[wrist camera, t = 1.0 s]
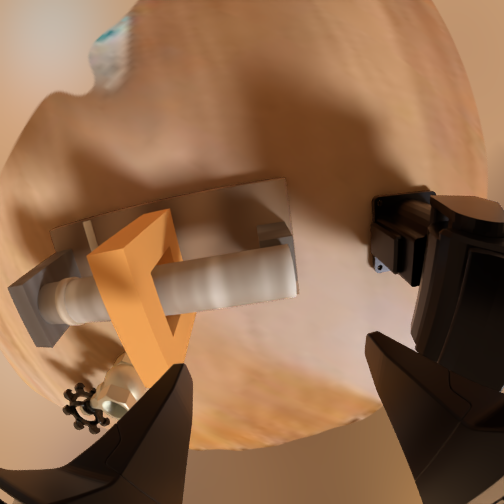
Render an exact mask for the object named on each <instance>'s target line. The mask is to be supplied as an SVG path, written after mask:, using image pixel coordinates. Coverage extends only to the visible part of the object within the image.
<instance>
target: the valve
mask: <svg viewBox="0 0 504 504" xmlns="http://www.w3.org/2000/svg"><path fill="white" fill-rule="evenodd" d="M84 387H85V386H84V385H83V384H82V383H78V384H77V385H75V391H76V393H75V394H73V393H72V392H71V391H72V390H70V389H67V390H66V391H65V392H64V397H65V398H66V399H68V400H69V401H70V406H68V405H66V406H64V407H63V412H64V413H65V414H66V415H70V414H72V415H73V416H74V417H75V419H76V421H75V422H74V427H75V428H76V429H77V430H81V429H83V428H84V426H83V425H86V426H88V427H89V431H90V432H91V433H92V434H97V433H99V432H100V428H97V424H98V423H100V424H101V425H102V426H107V425H109V424H110V420H109V419H108V418H104V417H103V412H104V413H106V414H107V415H109V416H110V417H112V418H114V419H117V420H120V419H121V417H122V416H123V415H124V414H125V413H126V412H127V411H128V410H129V409H130V408H131V407H132V406H133V405H134V404H135V403H136V402H137V401H138V400H139V399H140V398H141V397H142V396H143V395H144V394H145V391H146V388H145V386H144V384H143V382H142V381H141V379H140V377H139V375H138V373H137V372H136V370H135V368H134V366H133V364H132V362H131V360H130V358H129V357H128V355H127V353H126V352H125V353H123V354H122V355H121V356H119V357H118V358H117V360H116V362H115V364H114V366H113V367H112V368H111V369H110V370H109V371H108V372H107V374H106V376H105V380H104V382H102V383H101V384H100V385H98V387H97V389H95V388H93V389H92V390H90V391H89V393H88V392H84V389H83V388H84ZM78 397H86V398H87V399H85V400H84V401H76V399H77V398H78ZM77 406H80V410H81V411H82V413H83V414H85V415H93V414H94V416H95V418H96V419H95V420H94V421H87V420H85V419H83V418H82V417H81V416H80V415H79V414H78V412H77V410H76V407H77Z"/></svg>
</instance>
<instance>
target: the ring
mask: <svg viewBox="0 0 504 504" xmlns="http://www.w3.org/2000/svg"><path fill="white" fill-rule="evenodd" d="M86 257H87V260H88V263H89V266H90V268H91V271H92V274H93V277H94V280H95V282H96V285H97V287H98V290H99V293H100V295H101V298H102V300H103V302H104V305H105V307H106V310H107V312H108V314H109V317H110V319H111V321H112V323H113V326H114V328H115V330H116V332H117V334H118V336H119V338H120V341H121V343H122V345H123V347H124V349H125V351H126V353H127V355H128V357H129V358H130V360H131V362H132V364H133V366H134V368H135V370H136V372H137V373H138V375H139V377H140V379H141V381H142V382H143V384H144V386H145V388H151V387H152V386H153V385H154V384H155V383H156V382H157V381H158V380H159V379H160V378H161V376H162V375H163V374H164V373H165V372H166V371H167V370H168V369H169V368H170V367H171V366H172V365H173V364H177V363H184V360H185V356H186V351H187V347H188V343H189V339H190V335H191V331H192V327H193V323H194V319H195V316H196V312H193V313H185V314H177V315H168V316H165V314H164V311H163V308H162V306H161V303H160V300H159V297H158V294H157V291H156V288H155V285H154V282H153V279H152V276H151V271H152V270H153V268H154V267H155V266H156V265H162V264H168V263H174V262H180V261H183V259H182V256H181V252H180V248H179V244H178V240H177V236H176V232H175V228H174V224H173V219H172V215H171V211H170V208H169V209H164V210H160V211H155V212H151V213H146V214H143V215H141V216H140V217H138V218H137V219H136V220H134V221H133V222H131V223H130V224H129V225H127V226H126V227H124V228H123V229H121V230H120V231H119V232H117V233H116V234H115V235H113V236H112V237H111V238H109V239H108V240H106V241H105V242H104V243H102V244H101V245H100V246H99V247H97V248H96V249H95V250H93V251H92V252H91V253H89V254H88V255H87V256H86Z"/></svg>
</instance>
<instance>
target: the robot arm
mask: <svg viewBox="0 0 504 504" xmlns="http://www.w3.org/2000/svg"><path fill="white" fill-rule="evenodd" d="M378 200H380V204H379V205H377V201H378ZM372 214H373V222H372V224H371V253H372V254H373V269H374V270H375V271H376V272H377V273H381V272H386V271H392V272H393V273H394V274H399V275H400V276H401V277H402V278H403V279H405V280H406V281H407V282H408V283H409V284H410V285H411V286H412V287H415V286H419V291H418V296H417V301H416V305H415V310H414V314H413V318H412V322H411V335H412V337H413V340H414V342H415V344H416V346H415V349H416V351H417V352H418V353H417V352H415V351H414V350H412V349H410V348H408V347H406V346H404V345H403V344H401V343H399V342H397V341H395V340H393V339H391V338H390V337H388V336H386V335H384V334H382V333H380V332H378V331H375V332H372V333H368V334H367V336H366V344H365V356H366V359H367V362H368V365H369V368H370V372H371V375H372V378H373V381H374V384H375V387H376V390H377V392H378V395H379V397H380V399H381V401H382V403H383V406H384V408H385V410H386V412H387V415H388V417H389V419H390V421H391V424H392V426H393V428H394V431H395V433H396V435H397V438H398V440H399V442H400V445H401V447H402V450H403V452H404V454H405V457H406V459H407V462H408V464H409V467H410V469H411V472H412V474H413V477H414V480H416V481H415V483H416V485H417V488H418V490H419V494H420V496H421V499H422V502H423V504H504V393H501V391H502V390H503V388H504V210H503V208H502V207H501V205H500V204H499V203H498V202H494V201H491V200H487V199H483V198H479V197H475V196H443V195H436V193H435V192H433V191H419V192H409V193H399V194H390V195H381V196H375V197H374V198H373V200H372ZM379 265H381V266H380V268H378V266H379ZM192 410H193V381H192V378H191V375H190V373H189V371H188V368H187V366H186V365H185V364H184V363H177V364H173V365H172V366H171V367H170V368H169V369H168V370H167V371H166V372H165V373H164V374H163V375H162V376H161V378H160V379H159V380H158V381H157V382H156V383H155V384H154V385H153V386H152V387H151V388H150V389H149V390H148V391H147V392H146V393H145V394H144V395H143V396H142V397H141V398H140V399H139V400H138V401H137V402H136V403H135V404H134V405H133V406H132V407H131V408H130V409H129V410H128V411H127V412H126V413H125V414H124V415H123V416H122V417H121V419H120V420H119V421H118V422H117V424H114V425H113V426H112V427H111V428H110V429H109V430H108V431H107V432H106V433H105V434H104V435H103V436H102V437H101V438H100V439H99V440H98V441H96V442H95V443H94V444H93V445H92V446H90V447H89V448H88V449H86V450H85V451H84V452H83V453H81V454H80V455H79V456H78V457H76V458H75V459H74V460H72V461H71V462H70V463H68V464H67V465H65V466H62V467H60V468H55V469H44V470H6V469H2V468H0V489H2V490H3V491H4V492H6V493H7V494H9V495H10V496H11V497H13V498H14V501H13V504H182V501H183V492H184V483H185V474H186V465H187V457H188V449H189V441H190V434H191V426H192ZM0 504H7V503H5V502H4V501H2V500H1V499H0Z"/></svg>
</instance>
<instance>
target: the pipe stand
mask: <svg viewBox="0 0 504 504" xmlns="http://www.w3.org/2000/svg"><path fill="white" fill-rule="evenodd" d="M169 208H170V211H171V215H172V219H173V224H174V228H175V232H176V236H177V240H178V244H179V248H180V252H181V256H182V259H183V261H180V262H174V263H168V264H162V265H156V266H155V267H154V268H153V270H152V271H151V276H152V279H153V282H154V285H155V288H156V291H157V294H158V297H159V300H160V303H161V306H162V308H163V311H164V314H165V316H168V315H177V314H185V313H193V312H201V311H209V310H217V309H224V308H231V307H238V306H245V305H251V304H258V303H264V302H270V301H276V300H282V299H288V298H294V297H296V294H299V286H298V276H297V266H296V257H295V248H294V240H293V231H292V223H291V215H290V207H289V200H288V192H287V185H286V178H284V177H281V178H274V179H268V180H261V181H255V182H249V183H243V184H237V185H231V186H225V187H220V188H214V189H209V190H204V191H199V192H194V193H189V194H184V195H179V196H175V197H170V198H166V199H161V200H157V201H152V202H148V203H144V204H140V205H136V206H131V207H127V208H123V209H120V210H116V211H112V212H108V213H104V214H101V215H97V216H93V217H90V218H86V219H83V220H79V221H76V222H73V223H69V224H66V225H63V226H60V227H56V228H54V229H52V230H50V235H51V238H52V241H53V244H54V248H55V251H56V253H54V254H53V255H52V256H50V257H49V258H47V259H46V260H44V261H43V262H41V263H40V264H39V265H37V266H36V267H34V268H33V269H32V270H30V271H29V272H28V273H26V274H25V275H23V276H22V277H21V278H19V279H18V280H17V281H16V282H14V283H13V284H12V285H10V286H9V287H8V290H9V293H10V295H11V297H12V299H13V302H14V304H15V306H16V308H17V310H18V313H19V315H20V317H21V319H22V321H23V323H24V325H25V327H26V329H27V330H28V332H29V334H30V336H31V338H32V340H33V342H34V343H35V345H36V347H52V348H53V346H54V345H55V344H56V342H57V341H58V340H59V339H60V337H61V336H62V335H63V334H64V332H65V331H66V330H67V329H68V327H69V326H70V325H71V326H74V325H83V324H85V323H88V322H102V321H111V319H110V317H109V314H108V312H107V310H106V307H105V305H104V302H103V300H102V298H101V295H100V293H99V290H98V287H97V285H96V282H95V280H94V277H93V274H92V271H91V268H90V266H89V263H88V260H87V257H86V256H87V255H88V254H89V253H91V252H92V251H93V250H95V249H96V248H97V247H99V246H100V245H101V244H102V243H104V242H105V241H106V240H108V239H109V238H111V237H112V236H113V235H115V234H116V233H117V232H119V231H120V230H121V229H123V228H124V227H126V226H127V225H129V224H130V223H131V222H133V221H134V220H136V219H137V218H138V217H140V216H141V215H143V214H146V213H151V212H155V211H160V210H164V209H169Z"/></svg>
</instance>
